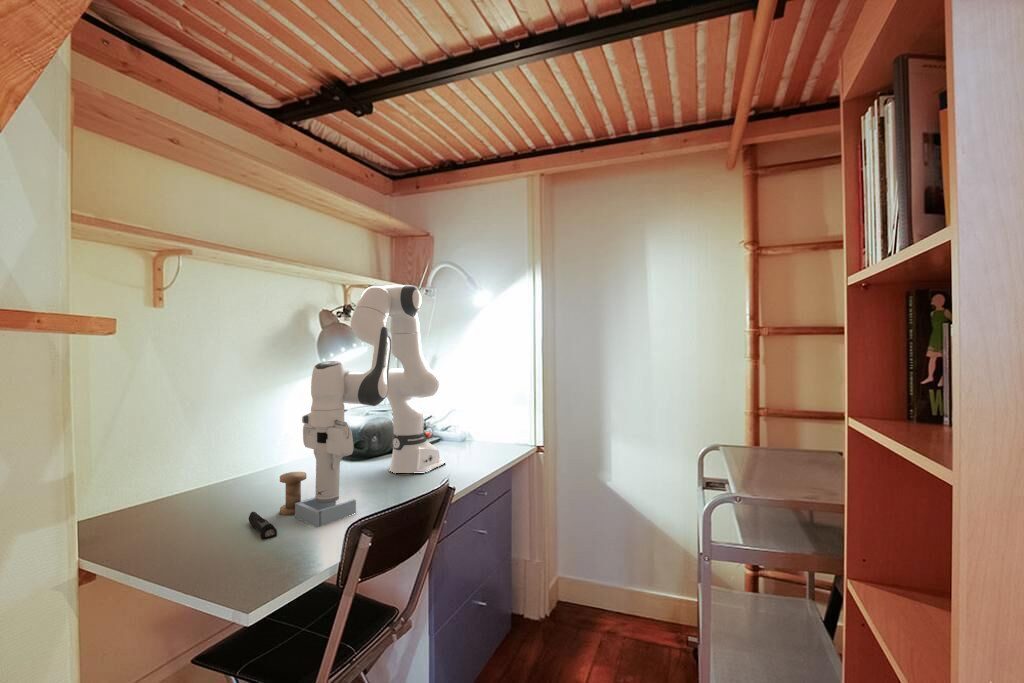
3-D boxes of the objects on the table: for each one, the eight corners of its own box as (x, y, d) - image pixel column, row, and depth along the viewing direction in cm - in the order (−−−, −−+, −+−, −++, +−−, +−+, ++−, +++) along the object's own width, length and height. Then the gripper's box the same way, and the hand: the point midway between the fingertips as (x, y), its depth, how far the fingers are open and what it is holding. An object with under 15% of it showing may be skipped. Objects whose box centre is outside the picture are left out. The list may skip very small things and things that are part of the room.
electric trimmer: (260, 520, 124) (260, 508, 124) (278, 537, 113) (278, 524, 113) (245, 524, 122) (245, 512, 122) (261, 541, 111) (261, 528, 111)
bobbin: (298, 504, 135) (298, 470, 135) (311, 509, 131) (311, 474, 131) (275, 511, 129) (275, 475, 129) (287, 517, 125) (287, 480, 125)
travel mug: (318, 505, 122) (320, 432, 123) (312, 498, 128) (314, 428, 128) (342, 501, 126) (343, 430, 126) (335, 494, 131) (337, 426, 132)
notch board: (333, 505, 135) (333, 491, 135) (355, 513, 128) (356, 499, 128) (295, 517, 125) (295, 503, 125) (317, 527, 118) (317, 512, 118)
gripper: (359, 420, 123) (359, 470, 123) (319, 413, 136) (318, 459, 136) (338, 424, 118) (338, 476, 118) (298, 416, 131) (298, 463, 130)
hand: (327, 467), depth 127 cm, fingers closed on travel mug, 6 cm apart
